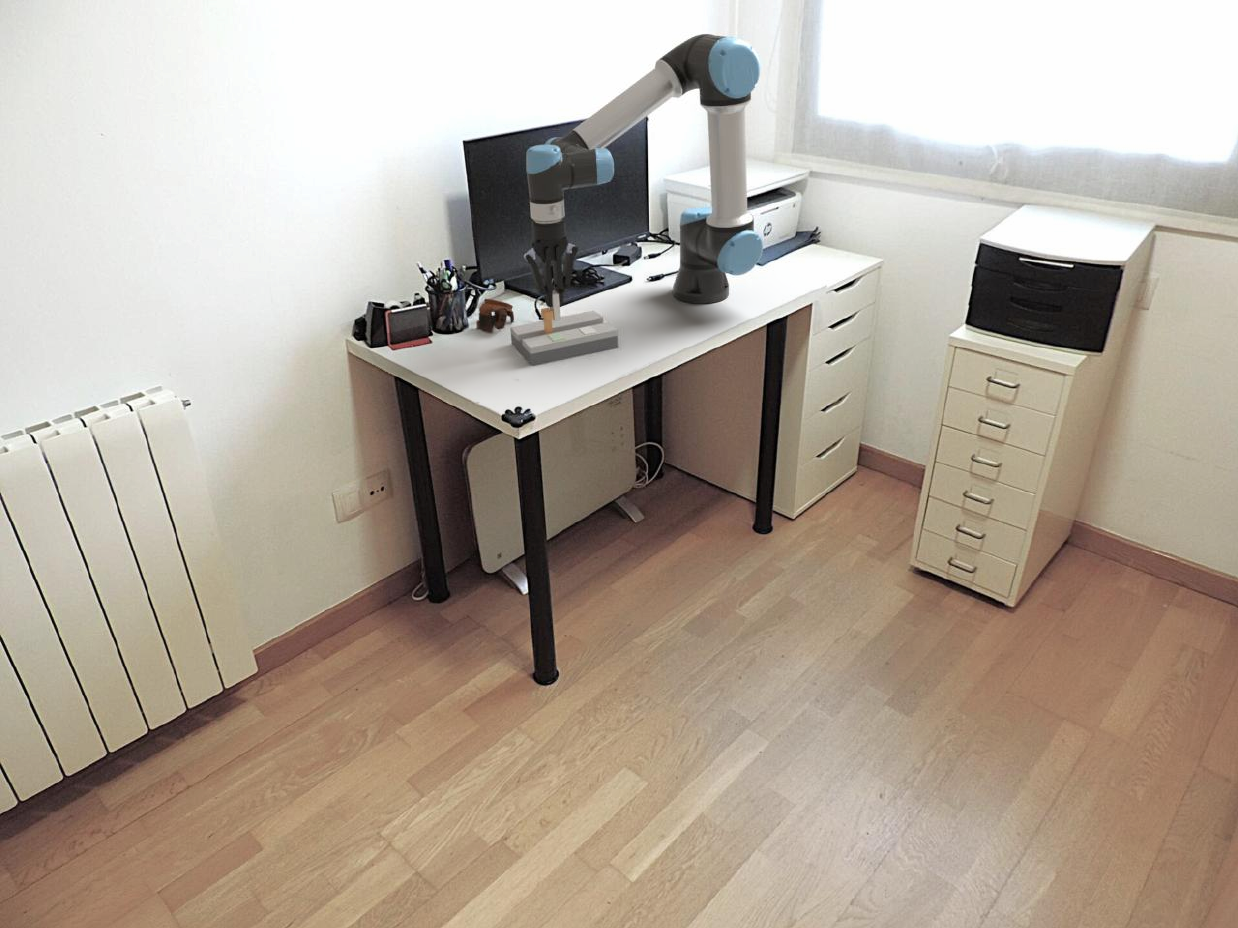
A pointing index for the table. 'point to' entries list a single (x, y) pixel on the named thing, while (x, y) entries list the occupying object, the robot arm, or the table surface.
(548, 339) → the box
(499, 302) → the brown arched block
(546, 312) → the breaker handle
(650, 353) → the table surface
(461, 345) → the table surface
